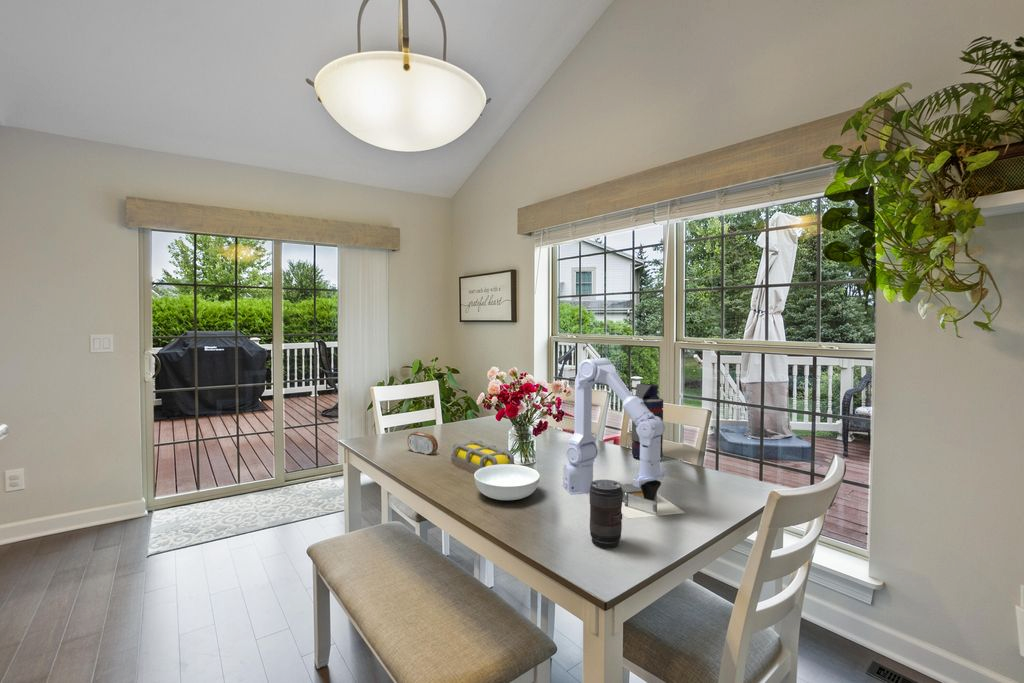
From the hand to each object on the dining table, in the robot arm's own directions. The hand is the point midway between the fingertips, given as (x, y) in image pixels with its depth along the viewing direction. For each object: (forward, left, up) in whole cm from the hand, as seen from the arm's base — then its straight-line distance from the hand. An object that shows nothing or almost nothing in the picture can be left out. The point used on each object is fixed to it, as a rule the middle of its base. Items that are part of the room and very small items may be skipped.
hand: (648, 505), depth 139 cm
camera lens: (-20, -14, -2) cm, 25 cm away
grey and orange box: (+1, +9, -2) cm, 9 cm away
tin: (-61, +77, -2) cm, 98 cm away
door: (-2, +1, -2) cm, 3 cm away
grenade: (+26, +49, -2) cm, 55 cm away
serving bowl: (-37, +23, -2) cm, 44 cm away
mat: (+1, +5, -2) cm, 5 cm away
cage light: (-40, +52, -3) cm, 65 cm away
